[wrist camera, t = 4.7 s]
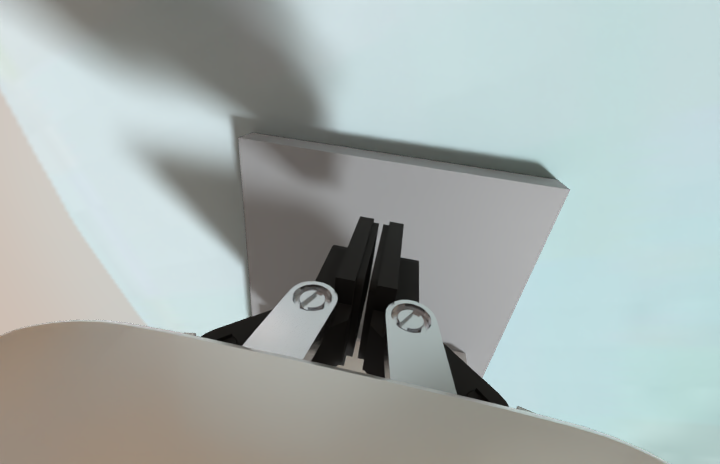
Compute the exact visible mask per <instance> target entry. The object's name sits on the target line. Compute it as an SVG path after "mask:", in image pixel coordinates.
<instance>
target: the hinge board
mask: <svg viewBox="0 0 720 464" xmlns="http://www.w3.org/2000/svg"><path fill="white" fill-rule="evenodd" d="M238 141H239V154H240V167H241V180H242V193H243V205H244V218H245V231H246V244H247V257H248V270H249V283H250V296H251V309H252V316H255V315H258V314H261V313H263V312H266V311H269V310H272V309H274V308H275V307H276V306H277V304H278V303H279V302H280V301H281V300H282V299H283V297H284V296H285V295H286V294H287V293H288V292H289V290H290V289H292V288H293V287H294V286H295V285H298V284H300V283H303V282H308V281H315V280H316V278H317V276H318V274H319V272H320V270H321V268H322V266H323V264H324V262H325V260H326V258H327V256H328V254H329V252H330V250H331V248H332V246H333V245H338V246H344V247H348V245H349V243H350V240H351V238H352V235H353V233H354V230H355V228H356V225H357V223H358V220H359V218H360V216H362V217H367V218H373V219H374V223H379V227H378V234H377V240H376V246H375V252H374V258H373V264H372V270H371V276H372V272H373V268H374V263H375V259H376V254H377V250H378V246H379V241H380V237H381V233H382V228H383V224H385V225H389V223H390V222H395V223H401V224H404V228H403V238H402V248H401V257H402V258H407V259H413V260H418V261H419V303H421V304H423V305H424V306H426V307H427V308H429V309H430V310H431V311H432V312H433V314H434V315H435V317H436V319H437V323H438V326H439V330H440V334H441V337H442V341H443V343H444V344H445V345H446V346H447V347H449V348H450V349H451V350H452V351H453V352H454V353H455V354H456V355H457V356H458V357H459V358H461V359H462V360H463V361H464V362H465V363H466V364H467V365H468V366H469V367H470V368H471V369H473V370H474V371H475V372H476V373H477V374H478V375H479V376H480V377H481V378H482V377H483V375H484V373H485V371H486V369H487V367H488V365H489V362H490V360H491V358H492V356H493V354H494V352H495V350H496V347H497V345H498V343H499V341H500V339H501V337H502V335H503V332H504V330H505V328H506V326H507V324H508V322H509V320H510V317H511V315H512V313H513V311H514V309H515V307H516V305H517V302H518V300H519V298H520V296H521V294H522V292H523V290H524V287H525V285H526V283H527V281H528V279H529V277H530V275H531V272H532V270H533V268H534V266H535V264H536V262H537V260H538V257H539V255H540V253H541V251H542V249H543V247H544V245H545V242H546V240H547V238H548V236H549V234H550V232H551V230H552V227H553V225H554V223H555V221H556V219H557V217H558V215H559V212H560V210H561V208H562V206H563V204H564V202H565V200H566V197H567V195H568V193H569V191H570V189H568V188H567V187H566V186H565V185H563V184H562V183H561V182H560V181H558V180H557V179H550V178H544V177H537V176H531V175H524V174H518V173H511V172H505V171H498V170H492V169H486V168H479V167H473V166H466V165H460V164H453V163H447V162H440V161H434V160H427V159H421V158H414V157H408V156H401V155H395V154H388V153H382V152H375V151H369V150H362V149H356V148H349V147H343V146H336V145H330V144H323V143H317V142H310V141H304V140H297V139H291V138H285V137H278V136H272V135H265V134H259V133H250V134H247V135H244V136H242V137H239V138H238ZM370 281H371V277H370ZM369 286H370V282H369ZM368 291H369V288H368ZM367 297H368V292H367V296H366V301H365V305H364V309H363V314H362V318H361V322H360V327H359V331H358V335H357V340H356V341H359V342H360V340H361V334H362V328H363V322H364V316H365V310H366V303H367Z"/></svg>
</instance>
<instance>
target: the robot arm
mask: <svg viewBox="0 0 720 464" xmlns="http://www.w3.org/2000/svg"><path fill="white" fill-rule="evenodd" d="M378 227H379V223H374V219H373V218H367V217H362V216H360V218H359V220H358V223H357V225H356V228H355V230H354V233H353V235H352V238H351V240H350V243H349V245H348V247H344V246H338V245H333V246H332V248H331V250H330V252H329V254H328V256H327V258H326V260H325V262H324V264H323V266H322V268H321V270H320V272H319V274H318V276H317V278H316V280H315V281H308V282H303V283H300V284H298V285H295V286H294V287H293V288H292V289H290V290H289V292H288V293H287V294H286V295H285V296H284V297H283V299H282V300H281V301H280V302H279V303H278V304H277V306H276V307H275V308H274V309H272V310H269V311H266V312H263V313H261V314H258V315H255V316H252V317H249V318H246V319H243V320H240V321H238V322H235V323H232V324H229V325H226V326H223V327H220V328H217V329H215V330H212V331H210V332H208V333H206V334H204V335H203V336H201V337H199V336H196V333H180V332H175V331H170V330H165V329H159V328H154V327H148V326H142V325H137V324H131V323H125V322H115V321H106V320H71V321H59V322H49V323H42V324H36V325H31V326H27V327H22V328H19V329H16V330H13V331H10V332H7V333H4V334H2V335H0V464H670V463H668V462H666V461H665V460H663V459H661V458H659V457H657V456H655V455H653V454H651V453H650V452H648V451H646V450H644V449H641V448H639V447H637V446H634V445H632V444H630V443H627V442H625V441H623V440H620V439H618V438H616V437H613V436H610V435H607V434H604V433H601V432H598V431H596V430H593V429H590V428H587V427H584V426H580V425H577V424H573V423H569V422H565V421H562V420H558V419H554V418H551V417H547V416H543V415H540V414H536V413H534V412H531V411H529V410H526V409H524V408H522V407H519V406H518V407H517V408H516V409H515V408H511V407H509V406H508V404H507V402H506V401H505V400H504V399H503V398H502V397H501V395H500V394H499V393H498V392H497V391H495V390H494V389H493V388H492V387H491V386H490V385H489V384H488V383H487V382H486V381H485V380H483V379H482V378H481V377H480V376H479V375H478V374H477V373H476V372H475V371H474V370H473V369H471V368H470V367H469V366H468V365H467V364H466V363H465V362H464V361H463V360H462V359H461V358H459V357H458V356H457V355H456V354H455V353H454V352H453V351H452V350H451V349H450V348H449V347H447V346H446V345H445V344H444V343H443V341H442V337H441V334H440V330H439V326H438V323H437V319H436V317H435V315H434V314H433V312H432V311H431V310H430V309H429V308H427V307H426V306H424V305H423V304H421V303H419V261H418V260H413V259H407V258H402V257H401V248H402V238H403V228H404V224H401V223H395V222H390V223H389V225H385V224H383V228H382V233H381V237H380V241H379V246H378V250H377V254H376V259H375V263H374V268H373V272H372V276H371V270H372V264H373V258H374V252H375V246H376V240H377V234H378ZM370 277H371V281H370ZM369 282H370V286H369ZM368 288H369V291H368ZM367 292H368V297H367V303H366V310H365V316H364V322H363V328H362V334H361V340H360V346H359V352H358V358H360V359H364V362H363V369H362V370H364V371H365V372H366V373H367V374H365V373H361V372H356V371H352V370H348V369H343V368H339V367H336V366H338V365H341V366H344V363H345V359H346V356H351V357H353V353H354V348H355V344H356V340H357V335H358V331H359V327H360V322H361V318H362V314H363V309H364V305H365V301H366V296H367Z"/></svg>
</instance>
